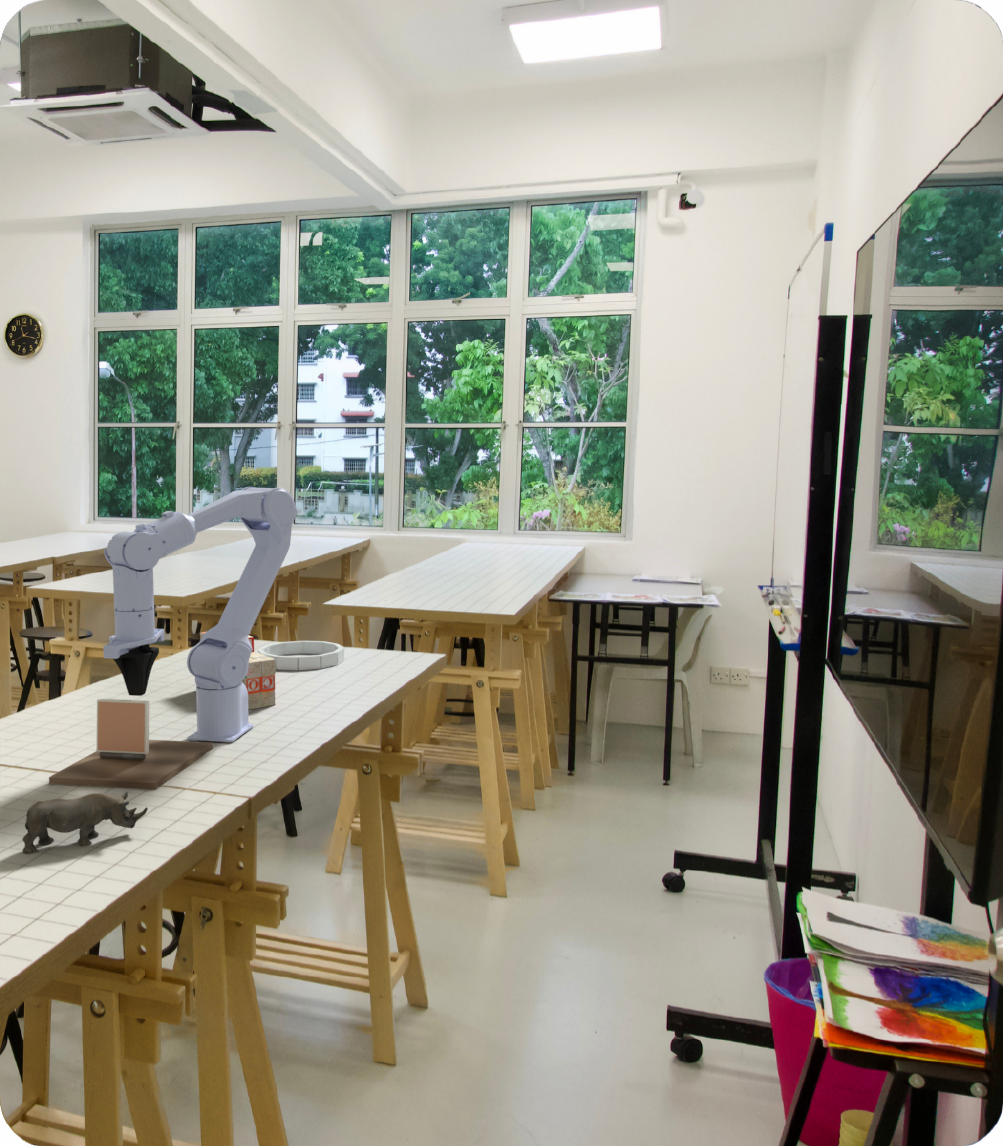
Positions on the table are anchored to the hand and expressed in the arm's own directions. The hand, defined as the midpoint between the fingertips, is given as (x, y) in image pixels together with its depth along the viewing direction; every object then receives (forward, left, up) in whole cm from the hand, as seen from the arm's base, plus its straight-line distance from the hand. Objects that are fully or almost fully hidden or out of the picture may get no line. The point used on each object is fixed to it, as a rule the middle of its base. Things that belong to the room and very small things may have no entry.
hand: (137, 694), depth 133 cm
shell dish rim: (-71, +2, -10) cm, 72 cm away
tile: (+4, 0, -4) cm, 5 cm away
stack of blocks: (-37, 0, -10) cm, 39 cm away
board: (+4, +2, -10) cm, 11 cm away
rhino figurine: (+30, +10, -10) cm, 34 cm away
